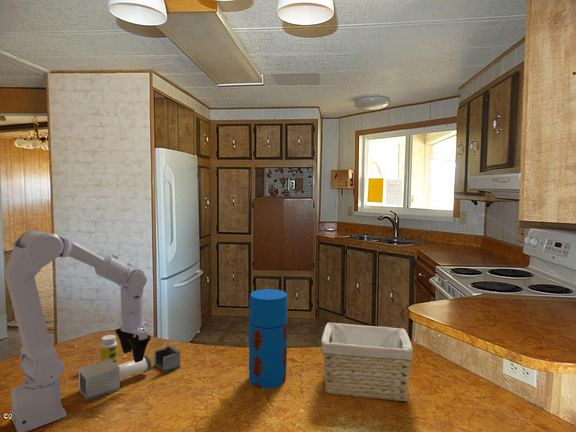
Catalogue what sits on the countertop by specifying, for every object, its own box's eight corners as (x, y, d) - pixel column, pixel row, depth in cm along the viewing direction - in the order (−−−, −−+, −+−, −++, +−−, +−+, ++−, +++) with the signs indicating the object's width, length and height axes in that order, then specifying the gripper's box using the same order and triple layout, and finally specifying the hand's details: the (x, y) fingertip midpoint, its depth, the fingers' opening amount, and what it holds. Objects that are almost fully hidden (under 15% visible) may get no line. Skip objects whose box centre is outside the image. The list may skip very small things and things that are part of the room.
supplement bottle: (110, 368, 111) (110, 340, 111) (97, 366, 112) (96, 339, 112) (120, 360, 116) (120, 334, 115) (107, 359, 117) (107, 333, 116)
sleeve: (87, 401, 94) (87, 377, 93) (79, 390, 98) (78, 368, 98) (119, 389, 99) (119, 367, 99) (110, 380, 104) (109, 359, 104)
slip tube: (92, 392, 96) (91, 377, 95) (86, 386, 98) (86, 371, 98) (151, 371, 107) (151, 358, 107) (145, 366, 110) (144, 353, 110)
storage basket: (318, 395, 98) (320, 341, 97) (324, 367, 114) (325, 320, 113) (412, 406, 94) (414, 350, 93) (404, 375, 110) (406, 327, 109)
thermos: (241, 382, 104) (241, 296, 102) (261, 366, 113) (262, 287, 112) (274, 393, 99) (276, 302, 97) (292, 375, 108) (294, 292, 107)
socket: (164, 372, 109) (164, 356, 108) (154, 365, 113) (154, 349, 113) (180, 367, 112) (180, 351, 112) (169, 359, 117) (169, 344, 117)
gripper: (157, 313, 102) (158, 360, 103) (135, 301, 112) (136, 344, 113) (131, 319, 97) (132, 369, 98) (111, 306, 107) (112, 351, 108)
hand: (132, 356), depth 105 cm, fingers open, 7 cm apart
